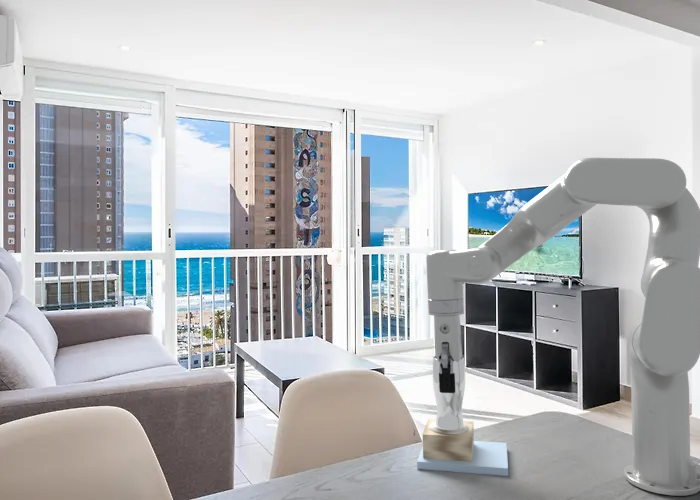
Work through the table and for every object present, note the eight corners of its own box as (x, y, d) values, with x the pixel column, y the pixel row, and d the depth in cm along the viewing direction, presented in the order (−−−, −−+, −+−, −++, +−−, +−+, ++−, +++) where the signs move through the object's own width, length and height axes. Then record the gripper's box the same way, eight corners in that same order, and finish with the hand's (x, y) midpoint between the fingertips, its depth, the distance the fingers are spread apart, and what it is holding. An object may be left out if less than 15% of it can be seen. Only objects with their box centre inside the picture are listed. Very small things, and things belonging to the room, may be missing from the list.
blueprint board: (506, 449, 120) (506, 442, 120) (508, 476, 107) (508, 468, 107) (425, 444, 125) (425, 437, 125) (417, 468, 111) (417, 461, 111)
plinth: (473, 444, 120) (473, 420, 120) (472, 461, 110) (471, 436, 110) (428, 441, 123) (428, 418, 123) (423, 458, 113) (422, 433, 113)
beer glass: (466, 433, 112) (465, 360, 112) (432, 431, 114) (431, 360, 114) (466, 422, 119) (464, 354, 119) (434, 421, 121) (432, 353, 121)
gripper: (461, 311, 107) (465, 398, 107) (465, 302, 124) (469, 377, 124) (423, 312, 109) (427, 397, 109) (432, 303, 126) (436, 376, 126)
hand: (449, 386), depth 116 cm, fingers open, 9 cm apart
